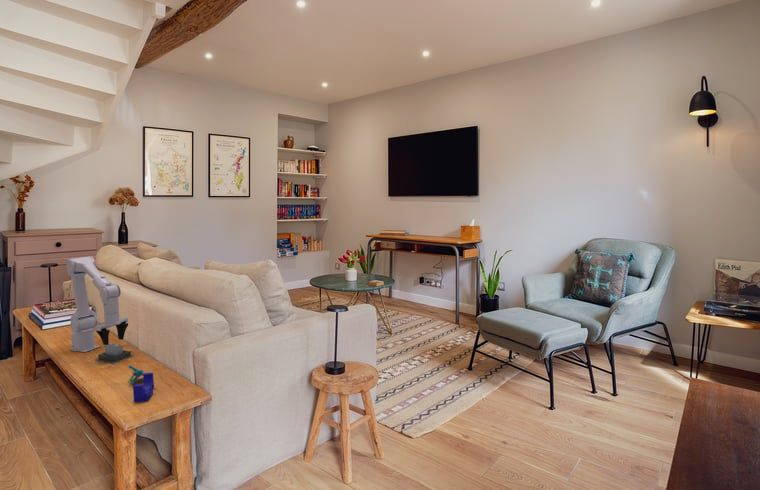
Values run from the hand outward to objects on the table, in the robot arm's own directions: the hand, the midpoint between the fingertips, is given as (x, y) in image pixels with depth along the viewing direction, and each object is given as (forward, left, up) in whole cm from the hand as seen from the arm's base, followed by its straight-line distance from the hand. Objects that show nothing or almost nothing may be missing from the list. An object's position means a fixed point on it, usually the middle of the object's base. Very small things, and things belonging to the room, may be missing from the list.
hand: (113, 341), depth 198 cm
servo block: (0, 0, -7) cm, 7 cm away
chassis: (0, 0, -8) cm, 8 cm away
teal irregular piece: (+31, -16, -8) cm, 36 cm away
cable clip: (+43, -24, -8) cm, 49 cm away
